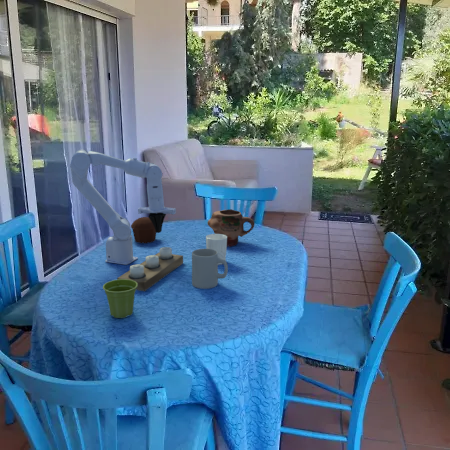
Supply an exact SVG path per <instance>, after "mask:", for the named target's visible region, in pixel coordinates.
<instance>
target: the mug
mask: <svg viewBox="0 0 450 450" xmlns="http://www.w3.org/2000/svg"><path fill="white" fill-rule="evenodd" d="M218 263H222V264H221V265H223V266H224V272H223V273H219V267H218V266H219V265H218ZM228 267H229V266H228V261H227V260H224V259H222V258H218V252H217V251H216V250H213V249H207V248H198V249H193V251H192V253H191V284H192V286H193V287H195V288H196V289H202V290H203V289H205V290H209V289H213V288H215V287H216V286H218V284H219V279H225V278H226V277H227V275H228V272H229V270H228V269H229V268H228Z"/></svg>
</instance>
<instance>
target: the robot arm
mask: <svg viewBox="0 0 450 450" xmlns="http://www.w3.org/2000/svg"><path fill="white" fill-rule="evenodd" d="M70 160H71V161H70V165H69V168H70V174H71V179H72V181H71V183H72V184H73V185H74V187H76V189H77V190H78V191H79V192H80V193H81V195H83V198H85V199H86V200H87V201H88V202H89V203H90V205H91V206H92V207H93V208H94V209H95V210H96V211H97V212H98V214H99V215H100V216H101V217H102V218H103V219H104V221H106V223H107V224H108V226H109V228H110V229H111V231H112V234H113V236H109V237H108V238H107V239H106V242H105V253H106V259H105V260H104V261H105V263H113V264H118V265H124V266H126V265H129V264H131V263H132V262H134V261H136V260H138V259H139V258H138V256H134V250H133V247H134V246H133V235H131V234H132V228H131V223H130V221H129V220H128V219H127V218H125V217H123V216H121V215H120V214H119V212H117V211H116V210H115V209H114V208H113V207H112V206H111V205H110V204H109V202H108V201H107V199H105V198H104V196H103V195H102V194H101V193H100V192H99V190H97V189H96V187H95V186H94V185H93V184H92V183H91V182H90V180H89V179H88V173H89V169H90V166H91V165H92V167H97V166H100V165H103V166H108V167H112V168H117V169H121V170H123V171H124V173H125V174H127V175H131V176H134V177H138V178H142V179H144V178H145V179H146V191H147V193H146V195H147V202H148V203H147V204H148V206H147V207H138V208H137V213H138V214H149V215H148V217H149V219H150V220H151V221H152V223H153V225H154V227H155V230H156V234H159V233H162V229H163V224H164V220H165V218H166V215H175V214H177V210H176V207H174V208H173V207H166V206H165V199H164V198H165V197H164V189H163V187H164V186H163V183H162V182H163V180H162V178H163V172H162V169H161V167H159V165H157V164H155V163H153V162H152V163H151V162H150V161H146V162H145V161H141V160H138V158H136V157H132V158H131V157H130V158H128V159H126V160H124V159H120V158H117V157H115V156H111V155H108V154H104V153H102V152H98V151H91V150H85V149H78V150H77V151H75V152H74V154H73V155H72V156H71V159H70Z"/></svg>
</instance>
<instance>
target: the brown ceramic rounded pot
mask: <svg viewBox="0 0 450 450" xmlns="http://www.w3.org/2000/svg"><path fill="white" fill-rule="evenodd" d="M245 223H249V224H250V228H249V229H248V230H245V229H244V226H245V225H244V224H245ZM255 225H256V224H255V222H254V219H252V218H251V217H248V216H243V214H242V212H240V211H238V210H235V209H231V208H230V209H222V210H216V211H214V212H213V213H212V215H211V217H210V219H208V220H207V226H208V227H209V228H211V230H212V231H213V234H223V235H226V236H227V247H234V246H237V245H238V243H239V237H240V238H242V237H244V236H245V235H248V234H250V232H251V231H253V229H254V227H255Z"/></svg>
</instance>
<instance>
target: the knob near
mask: <svg viewBox="0 0 450 450" xmlns="http://www.w3.org/2000/svg"><path fill="white" fill-rule="evenodd" d="M140 264H141V263H140ZM140 264H137V263H136V264H133V265H130V266H129V270H130V276H131V277H133V278H140V277H143V276H144V266H143V265H140Z"/></svg>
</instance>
